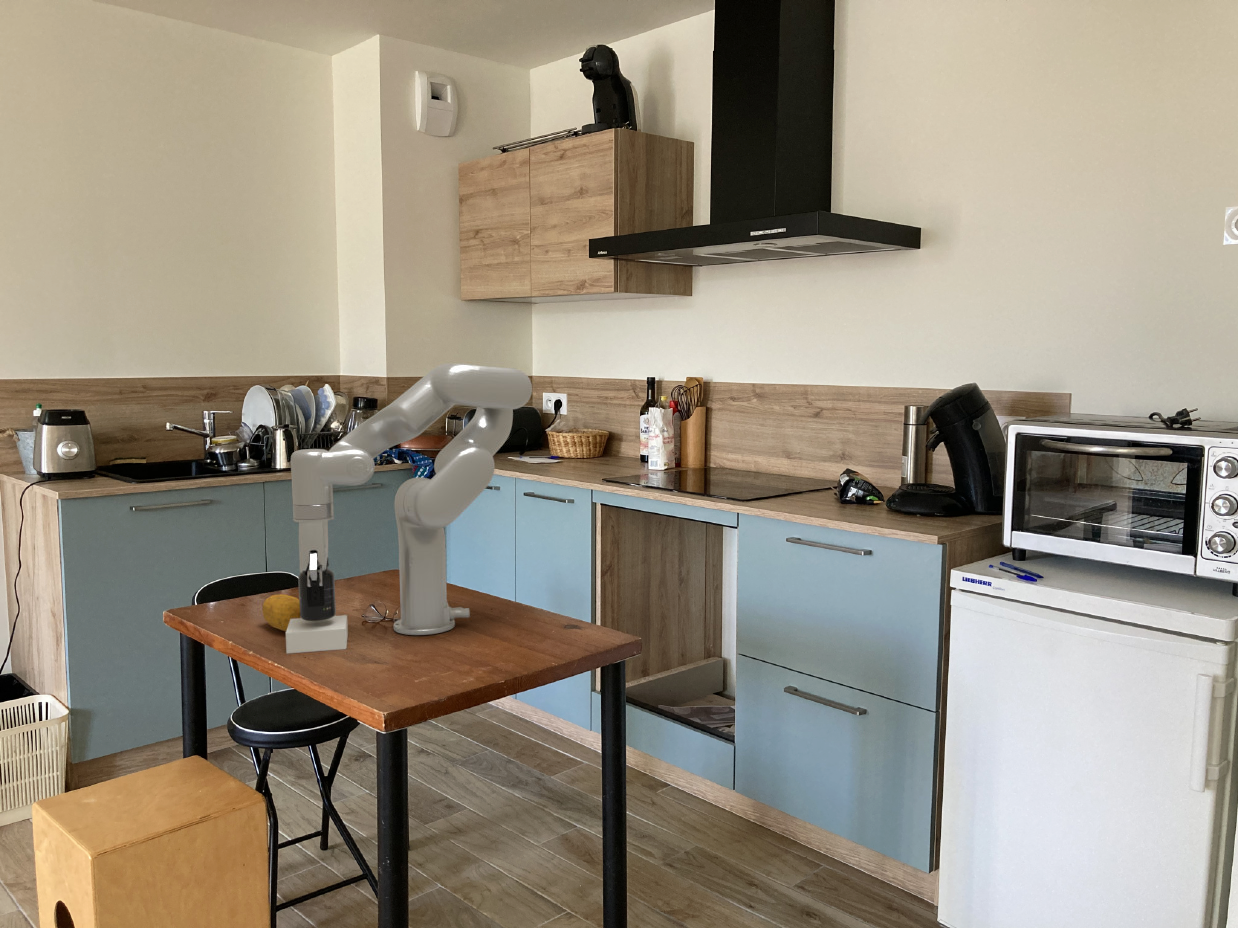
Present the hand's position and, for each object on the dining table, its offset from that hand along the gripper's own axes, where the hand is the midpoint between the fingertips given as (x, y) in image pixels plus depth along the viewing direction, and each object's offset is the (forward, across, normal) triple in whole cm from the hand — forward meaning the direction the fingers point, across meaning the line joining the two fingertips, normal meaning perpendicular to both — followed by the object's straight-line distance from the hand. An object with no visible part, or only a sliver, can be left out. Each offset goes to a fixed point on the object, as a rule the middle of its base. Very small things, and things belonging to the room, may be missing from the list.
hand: (317, 600), depth 188 cm
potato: (+9, -13, -7) cm, 17 cm away
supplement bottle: (+3, 0, 0) cm, 3 cm away
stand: (+9, 0, 0) cm, 9 cm away
